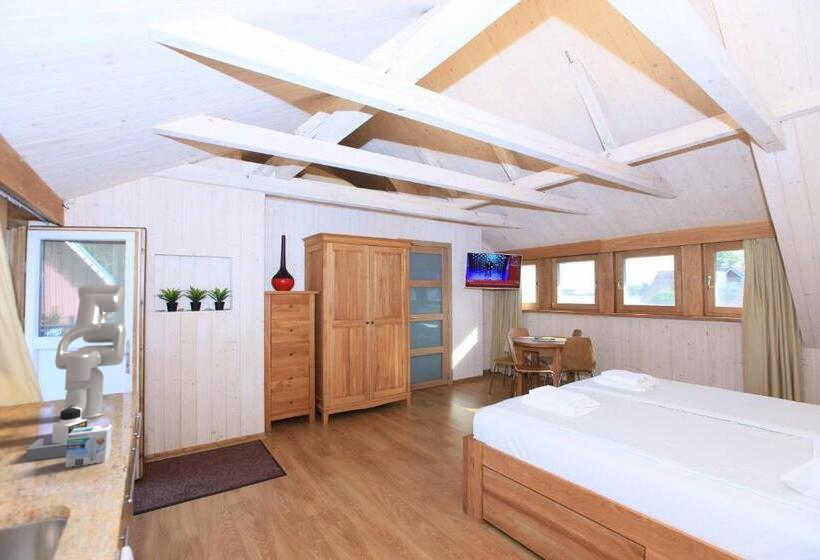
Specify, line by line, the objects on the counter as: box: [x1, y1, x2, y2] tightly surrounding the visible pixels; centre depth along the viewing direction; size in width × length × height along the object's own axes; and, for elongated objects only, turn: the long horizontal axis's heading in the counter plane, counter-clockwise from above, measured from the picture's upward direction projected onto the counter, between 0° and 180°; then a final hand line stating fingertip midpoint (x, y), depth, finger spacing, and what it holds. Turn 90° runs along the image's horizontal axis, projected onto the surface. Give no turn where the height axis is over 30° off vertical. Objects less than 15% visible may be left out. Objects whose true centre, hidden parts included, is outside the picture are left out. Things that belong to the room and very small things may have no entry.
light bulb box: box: [64, 423, 113, 468], centre depth 129 cm, size 11×7×11 cm, turn 117°
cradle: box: [25, 438, 67, 463], centre depth 135 cm, size 10×14×4 cm
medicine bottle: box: [51, 407, 88, 445], centre depth 145 cm, size 7×7×12 cm
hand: (75, 430), depth 152 cm, fingers closed
